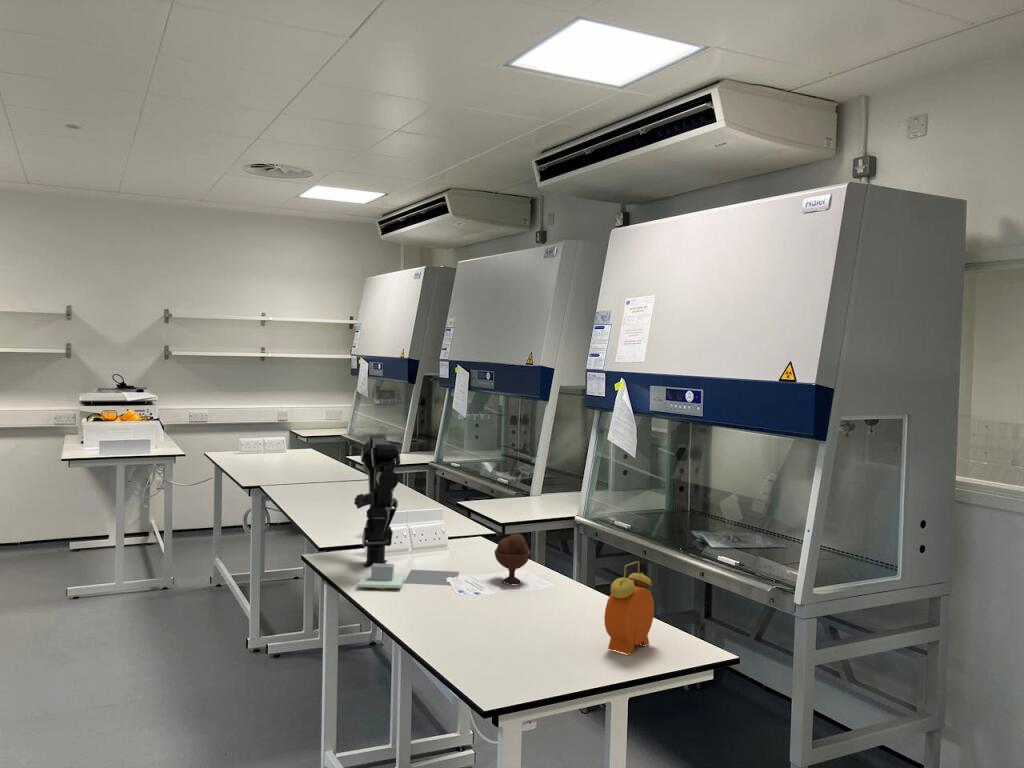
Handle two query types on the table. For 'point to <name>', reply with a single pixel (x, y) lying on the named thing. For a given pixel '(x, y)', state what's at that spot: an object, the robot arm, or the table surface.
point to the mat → (430, 577)
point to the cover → (382, 577)
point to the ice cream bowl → (512, 555)
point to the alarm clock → (629, 612)
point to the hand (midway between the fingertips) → (381, 535)
